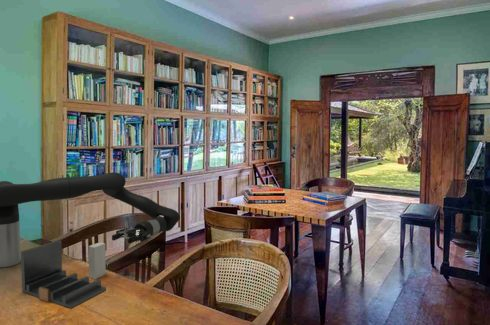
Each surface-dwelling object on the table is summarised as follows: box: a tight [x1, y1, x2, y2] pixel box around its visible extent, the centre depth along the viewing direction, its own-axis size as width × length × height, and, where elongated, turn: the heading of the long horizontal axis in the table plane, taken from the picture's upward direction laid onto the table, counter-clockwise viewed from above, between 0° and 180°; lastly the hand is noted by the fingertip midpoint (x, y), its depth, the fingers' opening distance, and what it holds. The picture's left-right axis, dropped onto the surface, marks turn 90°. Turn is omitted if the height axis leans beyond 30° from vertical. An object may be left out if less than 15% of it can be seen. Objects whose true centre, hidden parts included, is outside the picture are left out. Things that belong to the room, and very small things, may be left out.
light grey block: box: [88, 242, 107, 280], centre depth 132 cm, size 3×5×12 cm, turn 155°
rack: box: [20, 239, 107, 309], centre depth 119 cm, size 23×15×14 cm, turn 65°
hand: (120, 239), depth 142 cm, fingers open, 8 cm apart
